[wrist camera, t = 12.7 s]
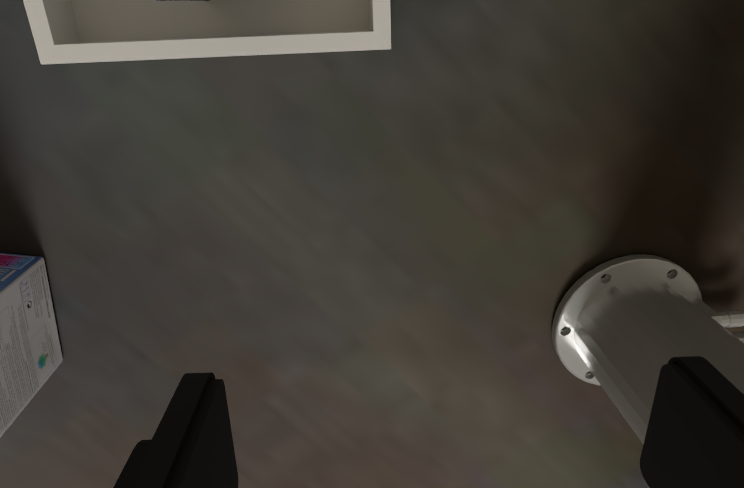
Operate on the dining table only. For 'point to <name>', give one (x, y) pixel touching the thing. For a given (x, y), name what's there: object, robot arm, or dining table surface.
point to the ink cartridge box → (24, 333)
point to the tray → (203, 28)
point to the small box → (180, 0)
